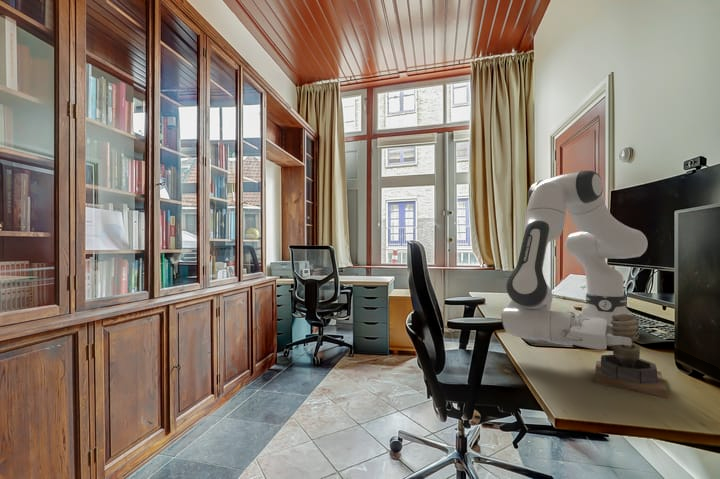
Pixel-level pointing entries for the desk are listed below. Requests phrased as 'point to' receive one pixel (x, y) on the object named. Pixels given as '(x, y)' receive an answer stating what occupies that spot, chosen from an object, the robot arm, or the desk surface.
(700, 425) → the desk surface
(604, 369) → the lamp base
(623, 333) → the light bulb
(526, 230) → the robot arm
